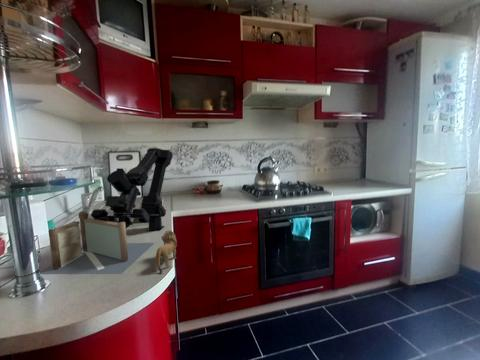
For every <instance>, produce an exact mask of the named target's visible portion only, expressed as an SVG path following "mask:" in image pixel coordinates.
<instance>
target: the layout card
mask: <svg viewBox="0 0 480 360" xmlns="http://www.w3.org/2000/svg"><path fill="white" fill-rule="evenodd" d="M154 244H155V242H127V249H128V260H125V261H122V260H121V259H117V258H113V257H109V256H105V255H102V254H98V253H94V252H90V251H87V252H83V246H81V251H82V255H80V256H78V257H77V258H75V259H73V260H72V261H70V262H68V263H67V264H65V265H63V266H62V267H61V268H59V269H57V270H53V264H52V263H51V264H49V265H48V266H45V268H42V269H41V270H39V271H40V274H39V275H88V274H89V275H95V274H96V275H116V274H117V275H118V274H119V275H122V274H123V273H124V272H125V271H127V270H128V269H129V268H130V267H131V266H132V265H133V264H134V263H135V262H137V260H138V259H140V258H141V256H143V254H145V253H146V252H147V251H148V250H149V249H150V248H151V247H152V246H154Z"/></svg>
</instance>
